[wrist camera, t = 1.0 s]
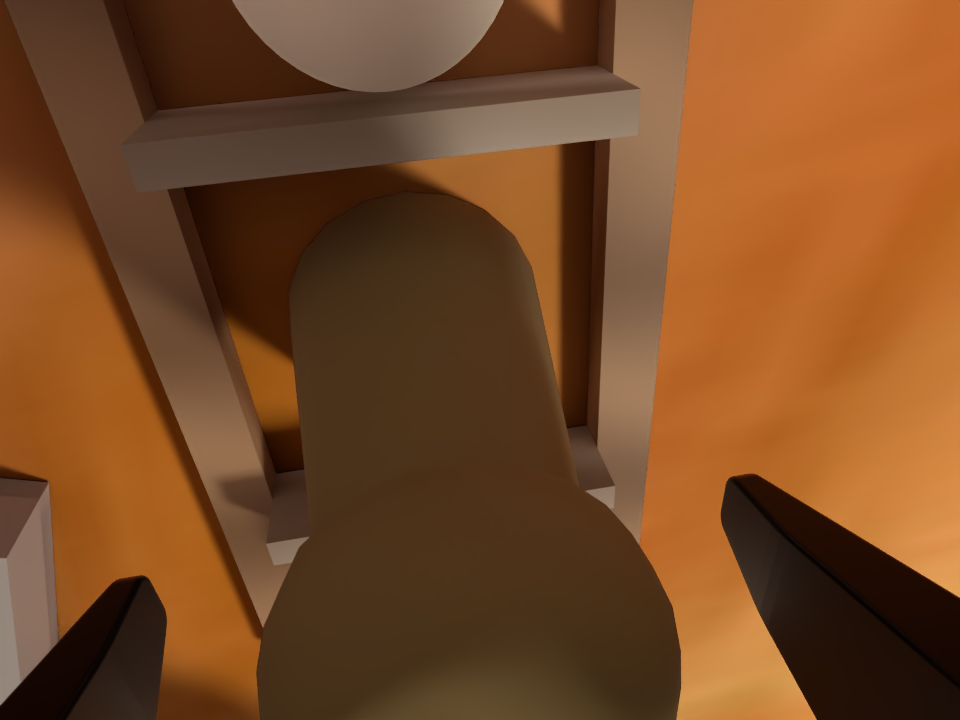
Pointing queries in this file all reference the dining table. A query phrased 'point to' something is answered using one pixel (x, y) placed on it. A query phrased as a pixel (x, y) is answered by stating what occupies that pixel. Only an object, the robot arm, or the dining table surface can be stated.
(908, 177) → the dining table surface
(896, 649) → the robot arm
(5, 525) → the tray
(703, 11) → the dining table surface
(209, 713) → the dining table surface
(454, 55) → the white short cylinder
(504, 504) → the cork
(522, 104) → the ladder
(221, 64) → the dining table surface
